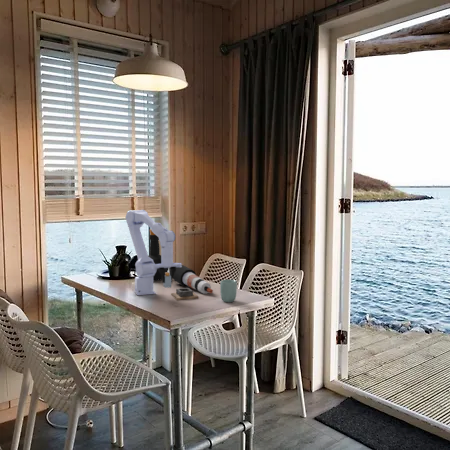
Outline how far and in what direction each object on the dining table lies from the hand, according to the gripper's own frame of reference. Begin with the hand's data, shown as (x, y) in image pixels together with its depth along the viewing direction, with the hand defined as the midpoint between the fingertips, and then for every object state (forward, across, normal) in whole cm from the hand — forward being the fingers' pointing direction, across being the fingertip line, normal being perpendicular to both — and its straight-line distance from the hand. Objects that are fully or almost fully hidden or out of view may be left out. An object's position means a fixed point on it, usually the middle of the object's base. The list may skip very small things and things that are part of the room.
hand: (167, 282), depth 219 cm
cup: (+8, +26, -16) cm, 32 cm away
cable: (+8, +19, +14) cm, 25 cm away
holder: (+8, +9, 0) cm, 12 cm away
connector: (+2, 0, 0) cm, 2 cm away
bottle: (+8, +4, +48) cm, 49 cm away
